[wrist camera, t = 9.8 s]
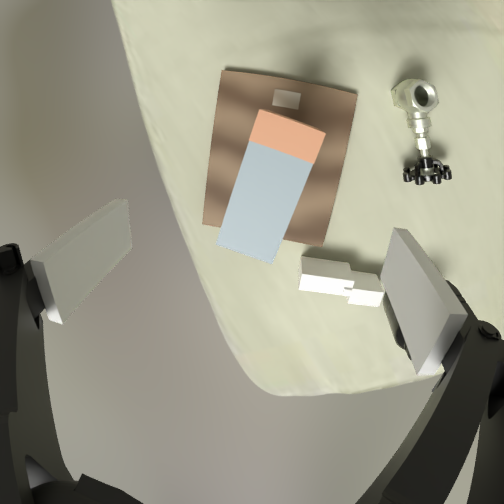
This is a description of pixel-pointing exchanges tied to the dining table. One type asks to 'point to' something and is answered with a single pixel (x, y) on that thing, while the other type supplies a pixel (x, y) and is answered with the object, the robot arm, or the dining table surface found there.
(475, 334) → the robot arm
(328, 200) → the board
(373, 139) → the dining table surface
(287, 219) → the blue-orange block
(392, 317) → the supplement bottle
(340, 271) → the white stepped block
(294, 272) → the dining table surface
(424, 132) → the valve
